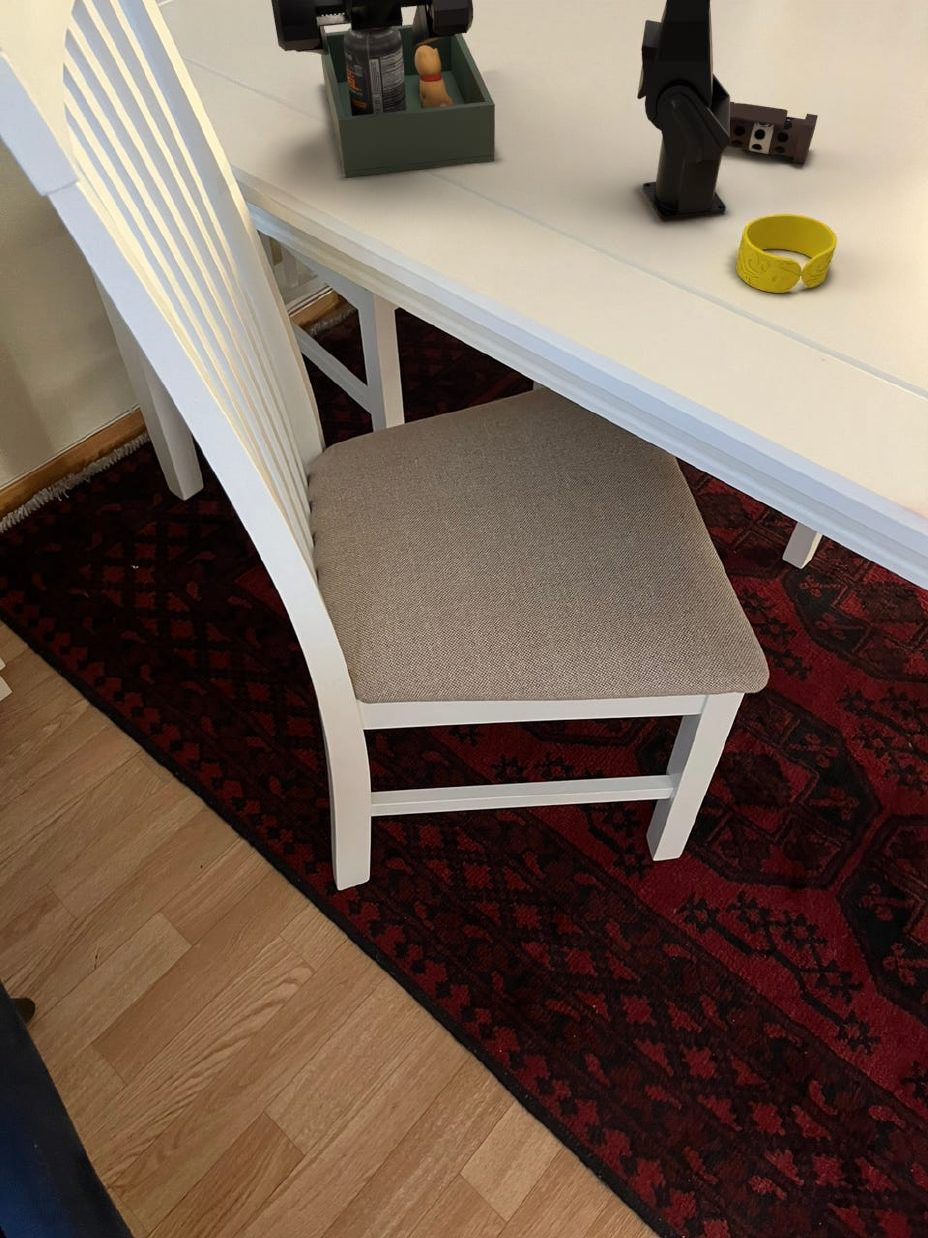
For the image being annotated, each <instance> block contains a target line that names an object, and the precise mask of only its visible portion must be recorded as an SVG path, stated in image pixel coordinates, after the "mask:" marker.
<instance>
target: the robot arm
mask: <svg viewBox="0 0 928 1238" xmlns="http://www.w3.org/2000/svg"><path fill="white" fill-rule="evenodd" d="M270 2H271V8H272V13H273V20H274V25H275V27H274V28H275V32H276V38H277V39H276V40H277V44H278V47H280V49H282V50H283V51H284V52H292V51H293V52H294V51H295V52H296V53H313V54H318V55H321V54H322V55H329V50H328V43H327V37H326V33H327V32H326V29H325V27H331V26H340V25H350V28H351V30H352V31H353V30H364V29H374V28H384V27H394V26H402V25H404V23H403V22H404V18H403V12H402V8H411V7H412V8H413V7H415V8H416V9H415V13H414V17H413V21H412V24H413V25H412V42H413V46H418V45H422V44H425V43H428V42H431V41H435V40H439V39H442V38H446V37H452V36H455V35H456V34H462V35H463V34H467V33H468V32H469V30H470V29H471V27H472V25H473V21H474V4H473V0H270ZM663 8H664V9H663V13H662V15H661V19H660V21H657V20H656V21H655V20H650V19H646V20H645V22H644V28H643V35H642V42H641V47H640V49H641V69H640V76H639V83H638V89H637V97H636V98H637V99H638V100H641V99H644V98H645V99H644V111H645V115H646V118H647V120H648V121H649V122H650V123H651V124H652V125H653V126H654V127H655V128H656V129H658V130H659V131H661V136H662V137H661V144H660V151H659V157H658V164H657V172H656V178H655V181H649V182H644V183H642V189H641V190H642V192H643V193H644V195H645V196H646V198H647V200H648V201H649V203H650V205H651V206H652V208H653V210H654V212H656V215H657V216H658V218H659V219H660V221H663V222H664V221H665V222H667V221H668V222H669V221H675V220H683V219H691V218H699V217H707V216H715V215H723V214H725V213H726V210H727V207H726V205H725V203H724V202H723V201H722V199H721V197H720V196H719V194H718V193H717V192H716V188H717V183H718V178H719V172H720V167H721V162H722V157H723V153H724V151H725V149H726V148H727V147H728V146H727V144H728V143H729V140H730V102H731V95H730V93H729V92H728V91H727V89H726V88H725V87H724V86H723V84H722V83H721V81H719V78H718V77H717V76H716V74H714V51H713V50H714V49H713V48H714V47H713V27H712V26H713V25H712V11H711V0H665V5H664V7H663Z"/></svg>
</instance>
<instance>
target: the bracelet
mask: <svg viewBox="0 0 928 1238" xmlns="http://www.w3.org/2000/svg"><path fill="white" fill-rule="evenodd" d="M837 245H838V237H837V235H836V233H835V232H834V230H833V229H832V228H830V226H829V225H827V224H826V223H824V222H822V221H820V220H818V219H816V218H814V217H809V216H806V215H802V214H792V213H782V214H781V213H779V214H770V215H765V216H761V217H757V218H755V219H752V220H751V221H750V222H748V223H747V224H746V225H745V226H744V229H743V231H742V235H741V239H740V243H739V247H738V251H737V260H736V263H735V269H736V273H737V275H738V276H739V278H740V279H742V281H743V282H745V283H746V284H747V285H749V286H751V287H752V288H755V289H758V290H760V291H763V292H768V293H777V294H783V293H786V292H788V291H790V290H792V289H793V288H794V287H795V286H796V285H797V284H798V283H799V281H800V279H801V281H802V283H803V285H805V286H806V287H807V288H815V287H817V286H819V285H821V284H822V283H823V282H824V281H825V280H826V277H827V271H828V270H829V269H828V268H830V266H831V264H832V260H833V257H834V253H835V250H836V248H837ZM771 249H774V250H777V249H779V250H787V251H792V252H796V253H799V254H802V255H804V256H806V257H808V258H810V259H809V260H808V261H807V262H806V263H805V265H804V266H803V268H802V267H801V264H800V263H799V262H798V261H797V260H795V259H792V258H789V257H783V256H780V255H775V254H773V253H769V252H767V251H764V250H771Z"/></svg>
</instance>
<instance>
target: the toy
mask: <svg viewBox="0 0 928 1238" xmlns="http://www.w3.org/2000/svg"><path fill="white" fill-rule="evenodd" d="M415 66H416V69H417V71H418V73H419V75H420V97H421V100H422V101H423V109H424V108H433V107H442V106H452V105H454V104H453V101H452V100H451V98H450V97H449V96H448V95H447V92H446V87H445V84H444V81H443V79H442V76H441V62H440V58H439V54H438V50H437V48H435V49H433V48H431V47H429V46H426V45H423V46H421V47H419V48H418V49H417V51H416V54H415Z"/></svg>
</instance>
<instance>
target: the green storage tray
mask: <svg viewBox="0 0 928 1238" xmlns="http://www.w3.org/2000/svg"><path fill="white" fill-rule="evenodd" d="M412 25H413V23H411V24H402V26H395V27H396V28H397V29H398V30H399V32H400V34H401V38H402V53H403V64H404V79H405V94H406V110H405V111H396V112H387V113H377V114H368V115H359V116H352V113H351V104H350V94H349V86H348V77H347V68H346V60H345V50H344V36H345V33H346V32H347V30H342V31H332V32H326V37H327V43H328V50H329V55H322V54H320V60H321V68H322V74H323V81H324V83H323V84H324V89H325V93H326V98H327V103H328V106H329V111H330V115H331V120H332V124H333V129H334V133H335V138H336V141H337V142H336V143H337V146H338V151H339V155H340V160H341V165H342V169H343V174H344V178H353V177H361V176H369V175H380V174H386V173H388V174H389V173H396V172H405V171H413V170H423V169H429V168H430V169H431V168H441V167H448V166H456V165H457V166H458V165H459V166H460V165H468V164H475V163H485V162H494V161H495V150H496V149H495V145H496V144H495V143H496V141H495V139H496V136H495V135H496V132H495V131H496V104H495V102H494V99H493V98H492V95H491V94H490V91H489V89H488V87H487V85H486V83H485V80H484V79H483V75H482V74H481V72H480V69H479V68H478V65H477V63H476V61H475V59H474V57H473V54H472V53H471V50H470V48H469V46H468V44H467V41H466V40H465V38H464V35H463V33H462V34H456V35H455V36H452V37H446V38H442V39H439V40H435V41H431V42H428V43H425V44H422V45H418V46H413V42H412ZM423 45H426V46H429V47H431V48H433V49H435V48H437V50H438V54H439V58H440V62H441V76H442V79H443V81H444V84H445V87H446V92H447V95H448V96H449V97H450V98H451V100H452V101H453V104H454V105H452V106H442V107H433V108H424V109H423V101H422V100H421V97H420V75H419V73H418V71H417V69H416V66H415V54H416V51H417V49H418V48H419V47H421V46H423Z"/></svg>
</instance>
